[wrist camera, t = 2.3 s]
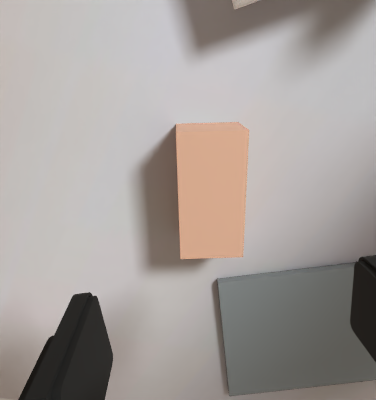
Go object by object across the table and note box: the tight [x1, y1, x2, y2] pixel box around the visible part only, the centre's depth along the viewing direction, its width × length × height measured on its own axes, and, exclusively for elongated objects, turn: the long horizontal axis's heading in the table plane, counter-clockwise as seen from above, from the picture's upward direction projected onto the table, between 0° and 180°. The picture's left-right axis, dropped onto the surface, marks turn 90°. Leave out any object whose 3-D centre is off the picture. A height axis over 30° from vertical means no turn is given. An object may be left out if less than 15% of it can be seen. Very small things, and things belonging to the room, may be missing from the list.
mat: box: [217, 263, 376, 396], centre depth 30 cm, size 20×14×1 cm
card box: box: [176, 122, 249, 259], centre depth 23 cm, size 4×9×4 cm, turn 1°
